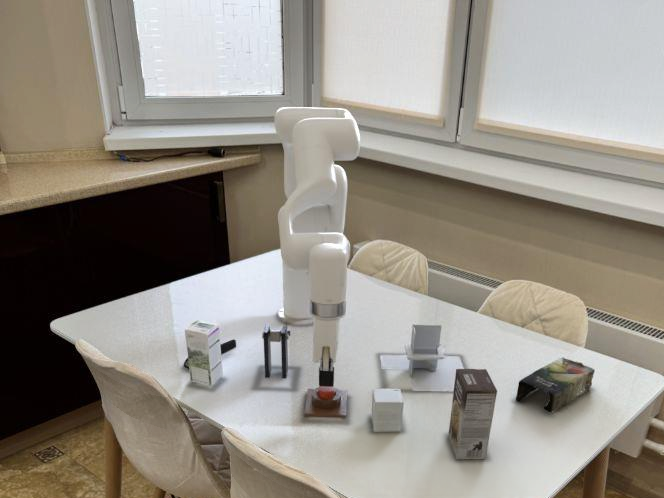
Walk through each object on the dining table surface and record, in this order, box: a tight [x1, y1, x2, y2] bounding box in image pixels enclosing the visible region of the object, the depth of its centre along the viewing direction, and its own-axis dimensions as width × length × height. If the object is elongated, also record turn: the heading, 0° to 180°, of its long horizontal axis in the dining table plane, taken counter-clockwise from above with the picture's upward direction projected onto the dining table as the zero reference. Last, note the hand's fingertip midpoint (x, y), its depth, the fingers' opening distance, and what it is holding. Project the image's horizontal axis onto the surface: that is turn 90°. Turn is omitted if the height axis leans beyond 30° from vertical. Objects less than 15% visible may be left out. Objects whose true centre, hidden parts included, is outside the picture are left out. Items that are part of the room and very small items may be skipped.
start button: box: [317, 385, 336, 398], centre depth 152 cm, size 4×4×2 cm
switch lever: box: [270, 329, 291, 343], centre depth 164 cm, size 12×5×2 cm, turn 0°
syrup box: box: [184, 320, 224, 387], centre depth 158 cm, size 6×6×14 cm
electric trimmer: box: [183, 338, 237, 372], centre depth 171 cm, size 4×16×3 cm, turn 142°
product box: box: [370, 388, 405, 433], centre depth 148 cm, size 6×6×7 cm
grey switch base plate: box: [379, 324, 465, 393], centre depth 168 cm, size 19×21×12 cm
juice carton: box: [515, 356, 595, 414], centre depth 162 cm, size 20×10×6 cm, turn 136°
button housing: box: [303, 387, 348, 419], centre depth 153 cm, size 11×9×4 cm
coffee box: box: [448, 368, 498, 460], centre depth 139 cm, size 9×6×16 cm
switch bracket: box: [261, 324, 290, 379], centre depth 162 cm, size 11×9×13 cm
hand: (326, 384), depth 151 cm, fingers closed
